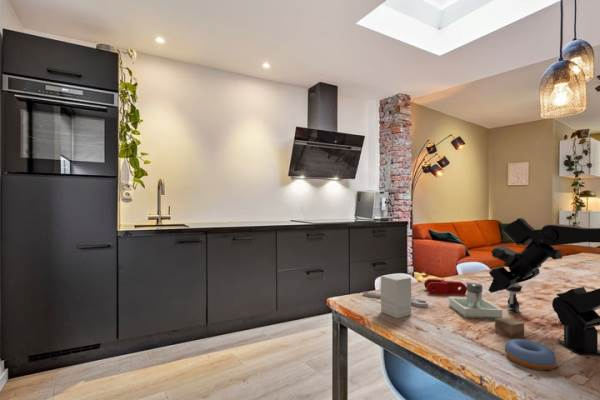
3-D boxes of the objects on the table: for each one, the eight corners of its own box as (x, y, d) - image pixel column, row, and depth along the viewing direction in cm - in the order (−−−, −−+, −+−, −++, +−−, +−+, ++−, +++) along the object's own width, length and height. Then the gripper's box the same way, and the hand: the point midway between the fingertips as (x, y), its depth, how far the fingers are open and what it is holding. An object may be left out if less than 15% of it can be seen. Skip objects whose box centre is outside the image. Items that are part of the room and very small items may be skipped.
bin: (502, 319, 99) (502, 309, 99) (464, 317, 100) (464, 308, 100) (482, 306, 111) (482, 298, 111) (449, 305, 112) (449, 297, 112)
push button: (518, 315, 102) (518, 286, 102) (500, 311, 106) (500, 283, 107) (524, 311, 106) (524, 283, 107) (506, 307, 111) (506, 280, 111)
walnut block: (524, 337, 86) (524, 323, 86) (511, 339, 84) (511, 325, 84) (507, 330, 91) (507, 316, 91) (495, 332, 89) (494, 318, 89)
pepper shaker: (481, 313, 102) (481, 287, 102) (465, 310, 105) (465, 284, 105) (483, 309, 106) (483, 284, 106) (467, 307, 109) (467, 282, 109)
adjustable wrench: (361, 296, 124) (361, 292, 124) (368, 293, 129) (368, 289, 129) (425, 309, 109) (425, 304, 109) (429, 304, 114) (429, 300, 114)
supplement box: (411, 315, 102) (412, 277, 102) (396, 319, 98) (396, 280, 99) (395, 308, 108) (395, 273, 109) (380, 311, 105) (380, 275, 105)
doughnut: (549, 376, 65) (548, 354, 66) (497, 360, 73) (497, 340, 74) (563, 367, 71) (562, 347, 71) (514, 352, 79) (513, 334, 80)
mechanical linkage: (427, 294, 127) (427, 282, 127) (424, 289, 134) (424, 278, 134) (468, 297, 124) (468, 284, 124) (463, 292, 131) (463, 280, 131)
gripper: (523, 233, 99) (492, 264, 108) (491, 242, 90) (461, 274, 99) (555, 259, 92) (520, 289, 101) (525, 271, 83) (489, 303, 92)
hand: (497, 288), depth 99 cm, fingers open, 9 cm apart
